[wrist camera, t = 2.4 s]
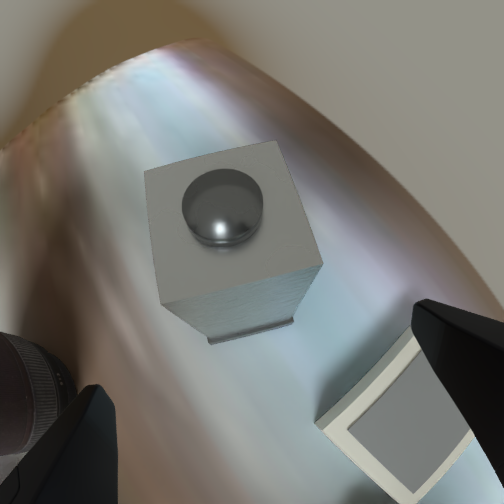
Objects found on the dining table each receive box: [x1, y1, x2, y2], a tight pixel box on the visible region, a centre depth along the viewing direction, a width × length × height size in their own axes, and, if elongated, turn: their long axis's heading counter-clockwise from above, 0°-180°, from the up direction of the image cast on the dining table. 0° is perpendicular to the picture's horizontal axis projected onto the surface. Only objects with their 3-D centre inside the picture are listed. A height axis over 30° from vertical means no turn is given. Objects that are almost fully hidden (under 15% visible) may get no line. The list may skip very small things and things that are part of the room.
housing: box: [144, 140, 323, 345], centre depth 14 cm, size 5×5×12 cm
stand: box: [314, 325, 475, 504], centre depth 15 cm, size 9×9×3 cm
